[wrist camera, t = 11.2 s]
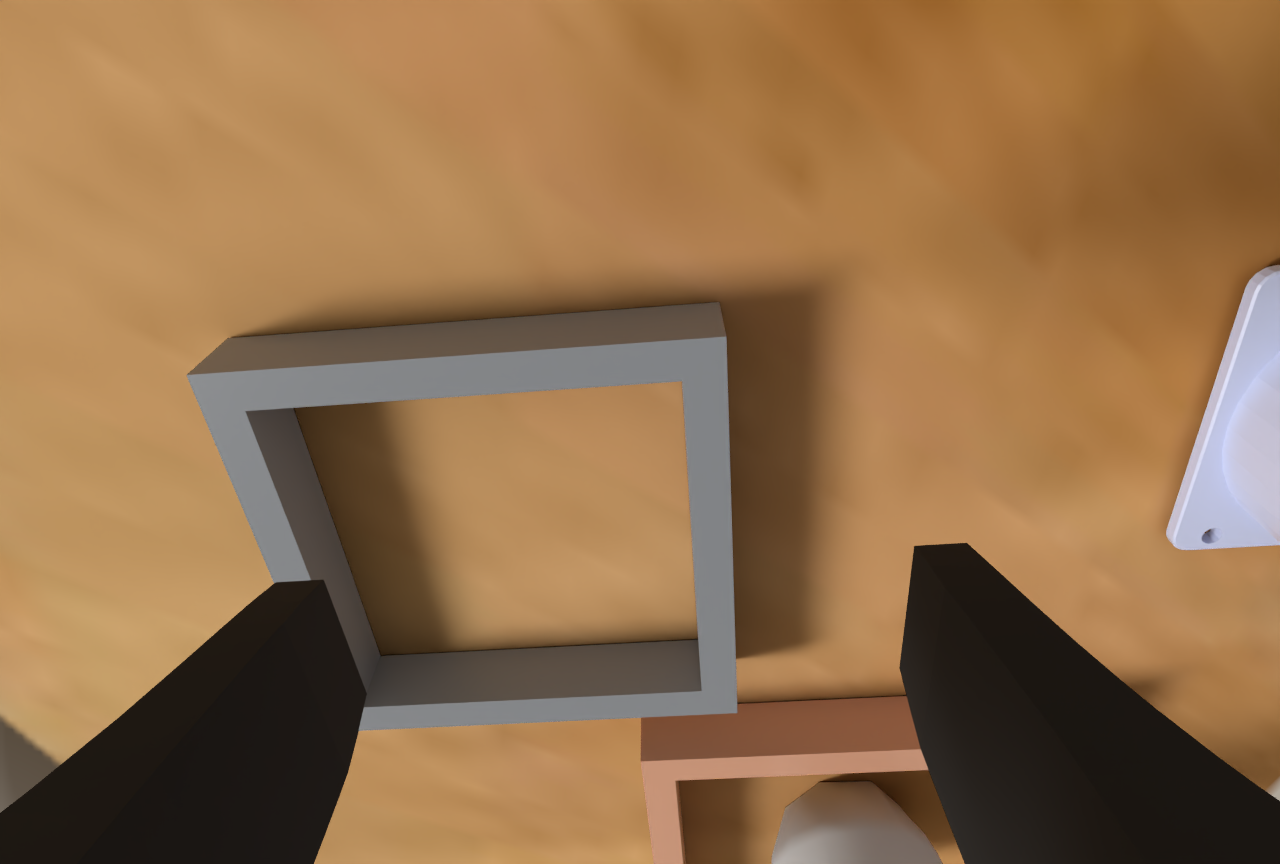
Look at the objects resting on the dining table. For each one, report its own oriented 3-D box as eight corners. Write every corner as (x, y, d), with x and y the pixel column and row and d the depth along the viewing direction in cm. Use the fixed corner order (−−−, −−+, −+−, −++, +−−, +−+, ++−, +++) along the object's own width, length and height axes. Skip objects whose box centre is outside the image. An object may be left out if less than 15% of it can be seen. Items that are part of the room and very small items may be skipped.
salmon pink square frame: (1077, 687, 25) (1108, 741, 23) (1009, 923, 32) (1029, 977, 31) (641, 708, 26) (640, 761, 24) (668, 934, 33) (669, 987, 31)
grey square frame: (719, 302, 19) (726, 336, 17) (731, 660, 25) (737, 713, 23) (227, 338, 19) (186, 374, 18) (357, 679, 25) (336, 731, 24)
